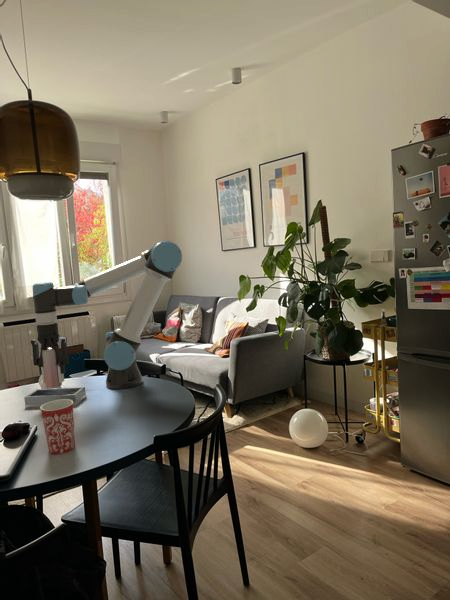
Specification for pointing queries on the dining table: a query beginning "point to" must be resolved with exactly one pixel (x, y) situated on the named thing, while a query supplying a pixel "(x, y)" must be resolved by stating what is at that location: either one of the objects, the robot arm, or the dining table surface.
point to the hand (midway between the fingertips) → (53, 382)
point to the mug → (59, 425)
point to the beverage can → (50, 368)
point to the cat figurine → (43, 384)
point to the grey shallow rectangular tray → (54, 396)
